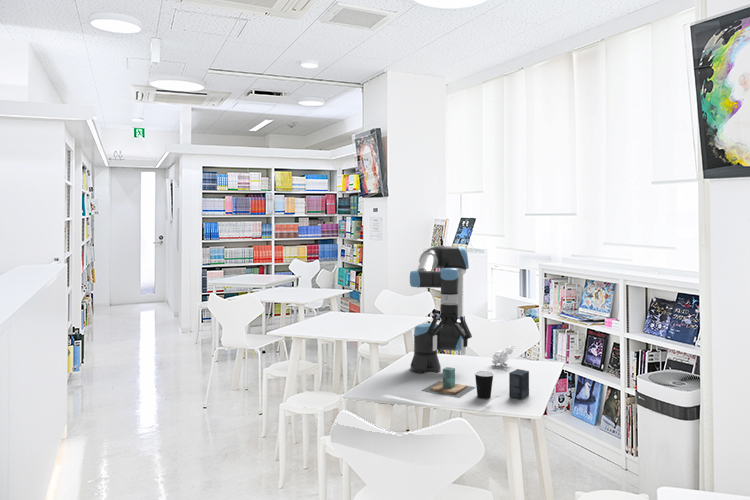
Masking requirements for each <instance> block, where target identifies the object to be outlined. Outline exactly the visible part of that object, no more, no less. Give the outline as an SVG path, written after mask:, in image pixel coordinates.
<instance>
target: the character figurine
mask: <svg viewBox="0 0 750 500" xmlns="http://www.w3.org/2000/svg"><path fill="white" fill-rule="evenodd" d="M515 347H516V346H515V345H513V346H508V345H507V346H506V347H505V348H504V349H502V350H497V351H495V352H494V353H493V355H492V360H491V362H492V363H493V365H494V366H497V365H498V364H500V365H501V366H502V367H503V368H506V369H509V366H508V365H505V363H506V362H507V361H508V360H509V357H508V355H511V354H513V353H514V349H516V348H515Z"/></svg>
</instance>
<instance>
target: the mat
mask: <svg viewBox="0 0 750 500" xmlns="http://www.w3.org/2000/svg"><path fill="white" fill-rule="evenodd" d="M442 381H443V380H438V381H436V382H435V383H434V382H433V384H431V385H429V386H427V387H426V388H423V389H420V391H421V392H424V393H430V394H434V395H435V394H436V395H441V396H446V397H452V398H457V399H460V398H462V397H463V396H465V395H466V394H468V393H470V392H471V391H473V390H474V389H477V387H476V386H472V385H467V388H466V389H464V390H463V391H461V392H459V393H458V394H456V395H454V394H448V393H443V392H437V391H432V390H430V388H431V387H433V386H435V385H436V384H438V383H440V382H442Z"/></svg>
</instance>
